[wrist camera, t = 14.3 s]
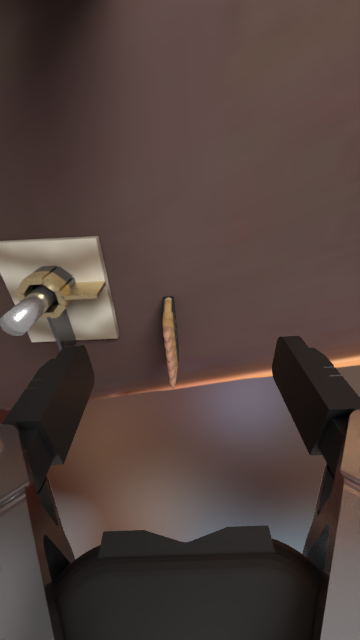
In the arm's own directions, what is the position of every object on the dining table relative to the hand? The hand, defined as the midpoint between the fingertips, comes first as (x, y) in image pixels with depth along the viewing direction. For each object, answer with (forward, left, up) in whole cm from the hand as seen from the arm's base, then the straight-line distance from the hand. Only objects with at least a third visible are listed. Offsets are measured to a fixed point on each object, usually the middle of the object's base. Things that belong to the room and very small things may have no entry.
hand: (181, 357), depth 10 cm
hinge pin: (+8, -20, -29) cm, 36 cm away
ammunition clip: (+17, -2, -30) cm, 35 cm away
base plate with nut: (+10, -20, -30) cm, 37 cm away
